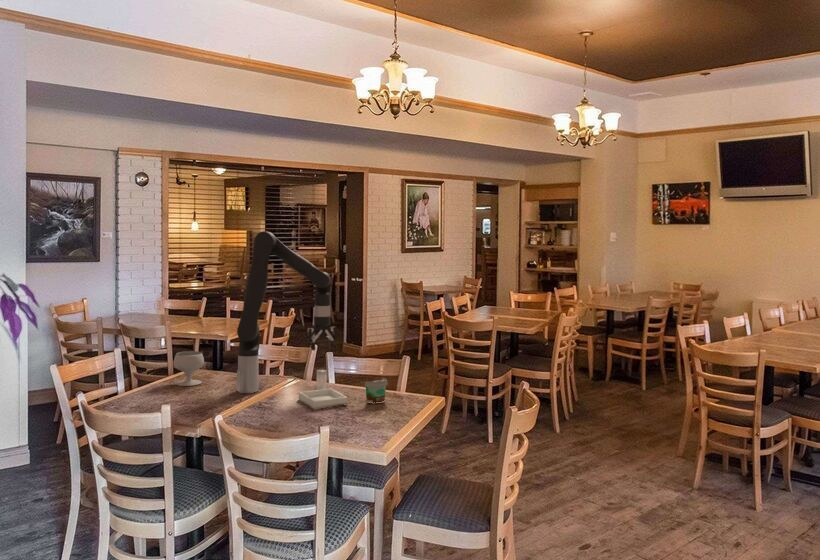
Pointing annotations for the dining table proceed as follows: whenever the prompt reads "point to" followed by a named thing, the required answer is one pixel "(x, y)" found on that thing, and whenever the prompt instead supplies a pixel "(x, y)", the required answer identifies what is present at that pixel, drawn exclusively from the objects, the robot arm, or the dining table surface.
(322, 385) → the salt shaker
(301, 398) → the tray
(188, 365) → the chalice
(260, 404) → the dining table surface
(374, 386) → the food container
